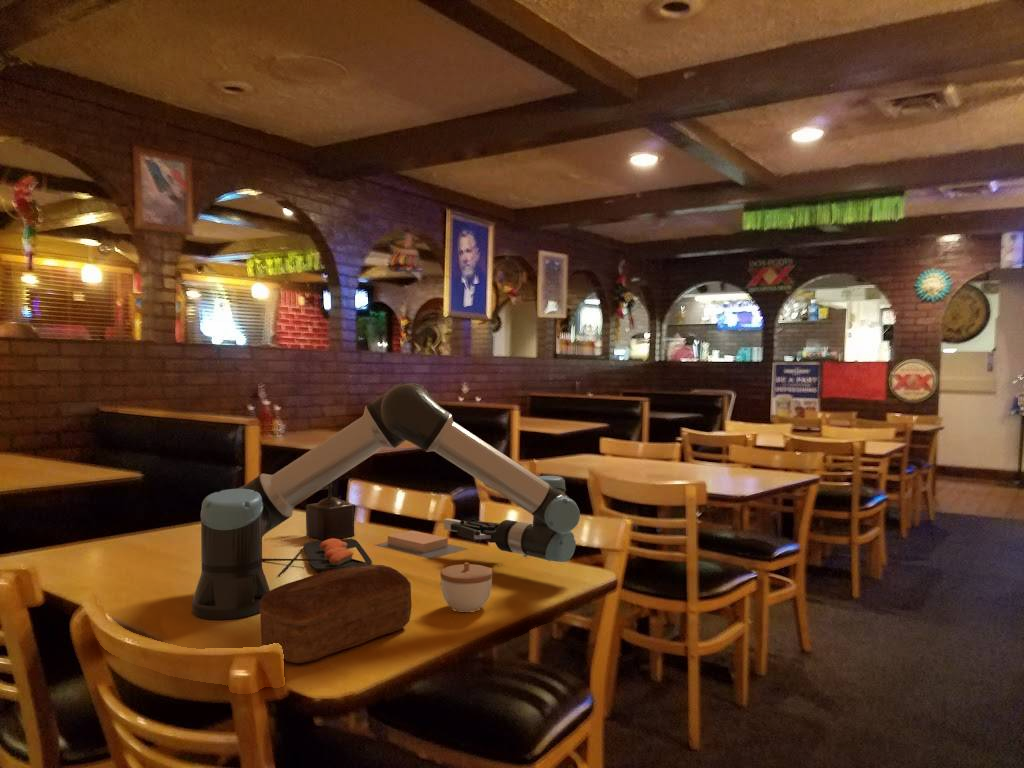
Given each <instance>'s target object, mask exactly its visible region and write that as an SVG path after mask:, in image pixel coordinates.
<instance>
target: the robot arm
mask: <svg viewBox="0 0 1024 768" xmlns="http://www.w3.org/2000/svg"><path fill="white" fill-rule="evenodd" d="M363 410H364V411H363V415H361V417H359V418H357V419H356V420H355V421H353V422H352V423H350V424H348V425H347V426H345V427H344V428H342V429H341V430H339V431H338V432H336V433H335V434H333V435H332V436H329V438H327V439H325V440H324V441H323V442H320V443H319V444H318V445H317V446H314V447H313V448H312V449H310V450H309V451H307V452H305V453H304V454H302V455H301V456H300V457H298V458H297V459H295V460H293V461H292V462H290V463H288V465H286V466H284V467H283V468H280V470H277V471H276V472H275V473H273V474H268V473H261V474H259V475H258V476H257V477H255V478H253V479H252V480H250V481H248V482H247V483H246V484H244V485H243V486H240V487H238V488H231V489H230V488H229V489H228V488H227V489H222V490H220V491H215V492H213V493H212V492H211V493H210V494H208V495H206V497H204V499H203V501H202V502H201V510H200V514H199V515H200V520H201V521H200V525H201V526H200V530H201V531H200V532H201V534H200V541H201V553H200V555H201V560H200V561H201V570H200V571H201V573H200V576H199V580H198V582H197V585H196V588H195V590H194V591H195V592H194V594H193V597H192V601H191V613H192V614H193V615H194V616H196V617H198V618H201V619H207V620H231V619H240V618H245V617H250V616H254V615H257V614H260V600H261V598H262V597H263V596H264V595H265V594H266V593H267V592H269V591H271V589H270V587H269V584H268V581H267V578H266V575H265V572H264V569H263V561H262V558H263V537H264V536H265V535H266V534H267V533H269V532H270V531H271V530H274V528H277V527H278V526H279V525H280V524H282V523H284V522H285V521H287V520H288V519H290V518H291V517H292V516H293V512H294V509H295V507H296V506H298V505H299V504H301V503H302V502H303V501H306V500H307V499H308V498H309V497H311V496H313V495H314V494H315V493H317V492H318V491H320V489H321V488H323V487H325V486H326V485H328V484H329V483H331V482H332V483H333V481H335V480H337V479H338V478H340V477H341V476H342V475H344V474H346V473H347V472H348V471H350V470H352V469H353V468H355V467H357V466H358V465H359V464H361V463H363V462H364V461H366V460H367V459H368V458H370V457H371V456H373V455H375V454H376V453H378V452H379V451H381V450H382V449H384V448H387V449H392V450H394V449H395V448H398V447H399V446H400V445H401V444H404V442H405V443H406V442H409V443H410V444H413V445H414V446H416V447H417V448H420V449H421V450H422V451H424V452H426V453H428V452H435V453H436V454H438V455H439V456H441V457H442V458H444V459H446V461H448V462H450V463H451V464H453V465H455V466H456V467H458V468H459V469H461V470H462V471H463V472H466V473H467V474H468V475H470V476H472V478H473V477H474V478H475V479H476V480H478V481H479V482H480V483H483V484H484V485H485V486H487V487H488V488H491V489H492V490H494V491H495V492H497V493H498V494H500V495H501V496H503V497H504V498H506V499H508V500H509V501H511V502H512V503H514V504H515V505H517V506H518V507H520V509H521V508H522V509H523V510H524V511H526V512H527V513H530V514H531V516H532V523H528V522H524V521H516V520H510V519H504V520H502V521H501V522H499V523H498V522H490V521H482V520H473V521H465V520H459V519H454V518H448V517H447V518H444V519H443V530H444V531H450V532H454V533H456V535H457V536H458V537H459V536H460V537H462V538H465V539H467V540H471V541H473V542H474V543H480V542H481V540H482V541H486V542H487V543H490V544H491V543H492V544H493V543H495V544H496V546H497V548H498V550H500V551H502V552H506V553H507V552H508V553H515V554H519V555H523V557H524V558H527V557H533V558H537V559H542V560H545V561H547V562H556V563H557V562H558V563H565V562H568V561H569V560H570V559H571V558H572V557H573V556H574V553H575V550H576V546H577V545H576V544H577V541H576V539H575V534H574V533H573V532H572V531H573V530H574V529H575V528H576V527H577V526H578V524H579V522H580V519H581V513H580V508H579V506H578V504H577V503H576V501H575V500H574V499H572V498H571V497H569V496H568V495H567V494H566V491H567V488H566V481H565V479H564V478H563V477H562V476H556V475H541V476H540V475H539V476H537V475H536V474H534V473H533V472H531V471H530V470H528V469H527V468H525V467H523V466H522V465H521V464H519V463H518V462H517V461H514V460H513V459H512V458H510V457H508V456H507V455H506V454H504V453H502V452H501V451H499V450H498V449H496V448H494V447H493V446H492V445H490V443H487V442H486V441H484V440H482V439H481V438H479V437H478V436H477V435H475V434H473V432H470V431H469V430H467V429H466V428H464V427H463V426H462V425H460V424H459V423H457V422H455V421H454V420H453V419H454V418H453V415H452V413H451V412H449V411H448V410H446V409H444V408H443V407H442V406H440V405H439V404H438V402H436V401H435V400H434V399H433V398H432V396H431V394H430V393H429V392H428V390H427V389H426V388H424V386H422V385H420V384H417V383H415V382H409V381H408V382H401V383H398V384H396V385H394V386H392V387H391V388H390V389H389V390H388V391H387V392H385V393H384V394H382V395H381V396H379V397H378V398H376V399H375V400H373V401H371V402H369V403H368V404H366V405H365V407H364V409H363Z"/></svg>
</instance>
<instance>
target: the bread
mask: <svg viewBox="0 0 1024 768" xmlns="http://www.w3.org/2000/svg"><path fill="white" fill-rule="evenodd" d="M412 606H413V605H412V585H411V582H410V581H409V580H408V578H407V576H405V575H404V574H402V573H401V572H400V571H399V570H397V569H396V568H393V567H391V566H386V565H383V564H371V565H368V564H366V565H361V566H351V567H345V568H339V569H332V570H324V571H322V572H320V573H317V574H313V575H310V576H307V577H304V578H300V579H298V580H294V581H291V582H287V583H284V584H282V585H279V586H278V587H275V588H272V589H270V591H269V592H267V593H266V594H265V595H264V596H263V597H262V598H261V600H260V613H259V615H260V635H261V646H262V645H269V644H273V643H279V644H280V645H281V646H282V649H283V654H284V660H285V662H287V663H290V664H291V663H292V664H304V663H310V662H313V661H317V660H320V659H322V658H324V657H326V656H329V655H332V654H334V653H337V652H340V651H342V650H345V649H349V648H353V647H356V646H359V645H360V646H361V645H362V644H364V643H367V642H368V641H371V640H374V639H376V638H379V637H381V636H385V635H387V634H392V633H395V632H397V631H399V630H401V629H402V628H403V627H405V626H406V625H407V624H408V623H409V622H410V621H411V620H410V619H411V613H412ZM284 660H283V661H284Z"/></svg>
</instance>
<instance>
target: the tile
mask: <svg viewBox="0 0 1024 768" xmlns="http://www.w3.org/2000/svg"><path fill="white" fill-rule="evenodd" d="M448 540H449V539H448V537H443V536H440V535H435V534H430V533H426V532H425V533H424V532H421V531H416V530H410V531H409V530H408V531H405V532H399V533H394V534H390V535H387V542H388V545H391V546H395V547H399V548H403V549H408V550H412V551H416V552H420V553H426V552H430V551H434V550H438V549H442V548H446V547H448V544H449V542H448Z"/></svg>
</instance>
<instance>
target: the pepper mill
mask: <svg viewBox="0 0 1024 768" xmlns="http://www.w3.org/2000/svg"><path fill="white" fill-rule="evenodd" d="M332 488H333V481H332V482H331V483H329V484H328V485H326V486H325V487H323V488H321V489H320V490H321V491H322V490H328V493H327V494H328V496H327V497H325V498H323V499H320V500H319V502H317V503H311V504H310V503H309V504H305V529H306V530H305V532H306V533H305V534H306V536H307V537H308V538H311V539H313V540H315V541H324V540H328V539H332V538H334V539H349V538H352V537H355V504H352V503H348V502H347V501H345V500H342V499H341V498H342V496H341V495H339V496H338V497H335V496H333V495H332V492H333V491H332ZM320 490H319V491H320Z"/></svg>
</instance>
